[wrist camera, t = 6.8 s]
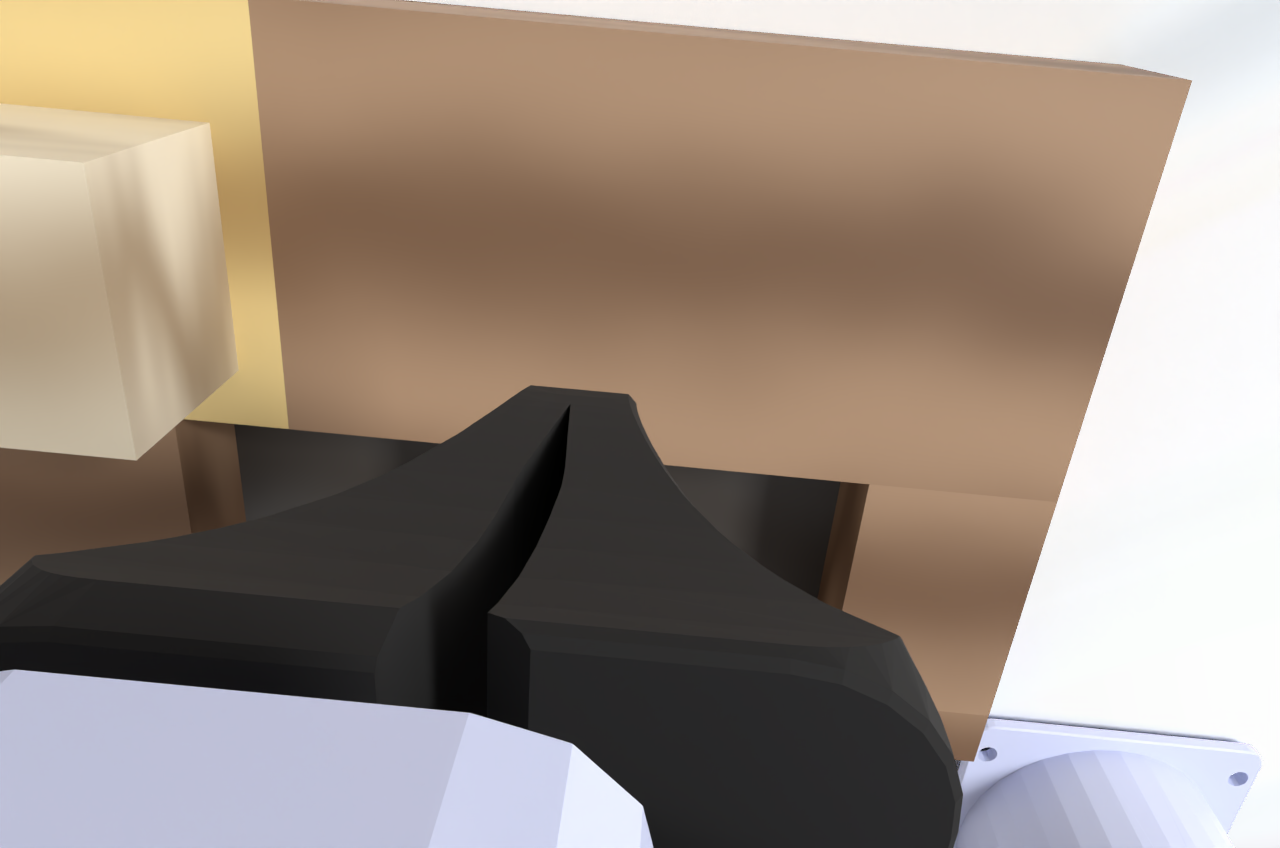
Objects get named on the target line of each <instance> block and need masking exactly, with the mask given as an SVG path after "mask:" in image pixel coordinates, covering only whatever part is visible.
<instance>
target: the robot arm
mask: <svg viewBox="0 0 1280 848" xmlns="http://www.w3.org/2000/svg"><path fill="white" fill-rule="evenodd" d="M988 747H990V749H988V750H986V751H980V750H982V749H983V748H988ZM1262 763H1263V760H1262V757H1261V756H1260V754H1259V753H1258V751H1257V750H1256V749H1255V748H1254V747H1253V746H1252V745H1250V744H1246V743H1238V742H1228V741H1218V740H1207V739H1197V738H1187V737H1177V736H1166V735H1156V734H1146V733H1136V732H1126V731H1115V730H1105V729H1095V728H1085V727H1074V726H1064V725H1054V724H1044V723H1034V722H1023V721H1013V720H1003V719H987V722H986V725H985V729H984V732H983V735H982V738H981V741H980V744H979V747H978V750H977V754H976V757H975V760H974V762H972V761H961V763H960V766H959V769H958V771H957V767H956V763H955V759H954V755H953V752H952V748H951V745H950V742H949V739H948V736H947V733H946V731H945V728H944V725H943V722H942V720H941V717H940V715H939V712H938V710H937V708H936V706H935V704H934V702H933V700H932V698H931V696H930V693H929V691H928V689H927V687H926V685H925V683H924V681H923V679H922V677H921V675H920V673H919V671H918V669H917V668H916V666H915V664H914V662H913V660H912V658H911V656H910V654H909V652H908V650H907V648H906V646H905V644H904V642H903V640H902V639H901V637H900V636H899V635H897V634H894V633H892V632H890V631H888V630H885V629H883V628H881V627H878V626H876V625H874V624H871V623H869V622H867V621H865V620H862V619H860V618H858V617H855V616H853V615H851V614H848V613H846V612H844V611H842V610H839V609H837V608H835V607H832V606H830V605H828V604H826V603H824V602H822V601H820V600H818V599H817V598H815V597H813V596H811V595H810V594H808V593H806V592H804V591H803V590H801V589H799V588H797V587H796V586H794V585H792V584H790V583H789V582H787V581H785V580H783V579H782V578H780V577H779V576H777V575H776V574H774V573H773V572H771V571H770V570H768V569H767V568H765V567H763V566H762V565H761V564H759V563H758V562H757V561H755V560H754V559H753V558H751V557H750V556H749V555H747V554H746V553H745V552H743V551H742V550H741V549H740V548H738V547H737V546H736V545H734V544H733V543H732V542H731V541H729V540H728V539H727V538H726V537H725V536H724V535H722V534H721V533H720V532H719V531H718V530H717V529H716V528H715V527H714V526H713V525H712V524H711V523H710V522H709V521H708V520H707V519H706V518H705V517H704V516H703V515H702V514H701V513H700V512H699V511H698V510H697V509H696V508H695V507H694V506H693V504H692V503H691V502H690V501H689V500H688V498H687V497H686V496H685V494H684V493H683V492H682V490H681V489H680V488H679V486H678V485H677V484H676V482H675V481H674V479H673V478H672V476H671V475H670V473H669V472H668V471H667V469H666V467H665V466H664V464H663V462H662V461H661V459H660V457H659V456H658V454H657V452H656V451H655V449H654V447H653V445H652V444H651V442H650V440H649V438H648V436H647V434H646V431H645V429H644V427H643V425H642V422H641V420H640V417H639V414H638V411H637V403H636V402H635V401H634V400H633V399H632V397H631V396H630V395H629V394H623V393H612V392H601V391H590V390H579V389H568V388H557V387H546V386H534V385H530V386H528V387H526V388H525V389H523V390H522V391H520V392H519V393H517V394H516V395H514V396H513V397H511V398H510V399H508V400H507V401H506V402H504V403H503V404H501V405H500V406H499V407H497V408H496V409H494V410H493V411H491V412H490V413H488V414H487V415H485V416H484V417H482V418H481V419H479V420H478V421H476V422H475V423H473V424H472V425H470V426H469V427H467V428H466V429H464V430H463V431H461V432H460V433H458V434H457V435H455V436H453V437H451V438H450V439H448V440H446V441H444V442H443V443H441V444H439V445H437V446H436V447H434V448H432V449H430V450H429V451H427V452H425V453H423V454H422V455H420V456H418V457H416V458H415V459H413V460H411V461H409V462H408V463H406V464H404V465H402V466H400V467H398V468H396V469H394V470H391V471H389V472H387V473H385V474H383V475H381V476H379V477H376V478H374V479H372V480H369V481H367V482H364V483H362V484H360V485H357V486H355V487H353V488H350V489H348V490H345V491H343V492H340V493H337V494H335V495H332V496H329V497H326V498H323V499H320V500H316V501H313V502H310V503H307V504H304V505H301V506H298V507H294V508H291V509H288V510H285V511H282V512H279V513H275V514H272V515H269V516H266V517H262V518H258V519H255V520H251V521H246V522H242V523H238V524H234V525H230V526H226V527H222V528H217V529H212V530H207V531H202V532H197V533H192V534H187V535H182V536H178V537H172V538H166V539H160V540H154V541H149V542H141V543H133V544H126V545H118V546H110V547H102V548H95V549H87V550H79V551H71V552H64V553H54V554H43V555H35V556H33V557H32V558H31V559H30V560H29V561H28V562H27V563H25V564H24V565H23V566H22V567H21V568H20V569H19V570H17V571H16V572H15V573H14V574H13V575H12V576H11V577H9V578H8V579H7V580H6V581H5V582H4V583H3V584H2V585H0V848H1235V846H1234V845H1233V843H1232V841H1231V840H1230V838H1229V837H1228V835H1227V834H1228V832H1229V830H1230V828H1231V826H1232V824H1233V822H1234V820H1235V818H1236V816H1237V814H1238V812H1239V810H1240V808H1241V806H1242V804H1243V802H1244V800H1245V799H1246V797H1247V795H1248V793H1249V791H1250V789H1251V787H1252V785H1253V783H1254V781H1255V779H1256V777H1257V775H1258V773H1259V771H1260V769H1261V767H1262ZM1236 772H1237V773H1236ZM1234 773H1235V774H1234ZM1232 774H1233V775H1232Z"/></svg>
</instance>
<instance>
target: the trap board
mask: <svg viewBox="0 0 1280 848" xmlns="http://www.w3.org/2000/svg"><path fill="white" fill-rule="evenodd" d="M1191 82H1192V80H1187V79H1183V78H1178V77H1174V76H1169V75H1165V74H1160V73H1156V72H1151V71H1147V70H1142V69H1138V68H1134V67H1129V66H1125V65H1119V64H1108V63H1097V62H1085V61H1074V60H1063V59H1052V58H1041V57H1030V56H1018V55H1007V54H996V53H985V52H974V51H963V50H951V49H940V48H929V47H918V46H907V45H896V44H884V43H873V42H862V41H851V40H840V39H829V38H818V37H806V36H795V35H784V34H773V33H762V32H751V31H739V30H728V29H717V28H706V27H695V26H684V25H672V24H661V23H650V22H639V21H628V20H617V19H605V18H594V17H583V16H572V15H561V14H550V13H539V12H527V11H516V10H505V9H494V8H483V7H472V6H460V5H449V4H438V3H427V2H416V1H405V0H0V103H1V104H12V105H23V106H34V107H45V108H56V109H66V110H77V111H88V112H99V113H110V114H121V115H132V116H143V117H154V118H165V119H175V120H186V121H197V122H208V123H210V130H211V139H212V147H213V156H214V164H215V173H216V181H217V190H218V198H219V207H220V215H221V224H222V232H223V241H224V250H225V258H226V267H227V275H228V284H229V292H230V301H231V309H232V318H233V326H234V335H235V343H236V352H237V360H238V369H239V371H237V372H236V373H235V374H234V375H233V376H232V377H231V378H230V379H228V380H227V381H226V382H225V383H224V384H223V385H222V386H220V387H219V388H218V389H217V390H216V391H215V392H214V393H213V394H211V395H210V396H209V397H208V398H207V399H206V400H205V401H203V402H202V403H201V404H200V405H199V406H198V407H197V408H196V409H194V410H193V411H192V412H191V413H190V414H189V415H188V416H186V417H185V418H184V419H183V420H182V421H181V422H180V423H178V424H177V425H176V426H175V427H174V428H173V429H172V430H171V431H169V432H168V433H167V434H166V435H165V436H164V437H163V438H161V439H160V440H159V441H158V442H157V443H156V444H155V445H154V446H152V447H151V448H150V449H149V450H148V451H147V452H146V453H144V454H143V455H142V456H141V457H140V458H139V459H138V460H137V461H136V460H125V459H115V458H105V457H94V456H84V455H73V454H63V453H53V452H42V451H32V450H21V449H11V448H1V447H0V585H2V584H3V583H4V582H5V581H6V580H7V579H8V578H9V577H11V576H12V575H13V574H14V573H15V572H16V571H17V570H19V569H20V568H21V567H22V566H23V565H24V564H25V563H27V562H28V561H29V560H30V559H31V558H32V557H33V556H35V555H43V554H54V553H64V552H71V551H79V550H87V549H95V548H102V547H110V546H118V545H126V544H133V543H141V542H149V541H154V540H160V539H166V538H172V537H178V536H182V535H187V534H192V533H197V532H202V531H207V530H212V529H217V528H222V527H226V526H230V525H234V524H238V523H242V522H246V521H251V520H255V519H258V518H262V517H266V516H269V515H272V514H275V513H279V512H282V511H285V510H288V509H291V508H294V507H298V506H301V505H304V504H307V503H310V502H313V501H316V500H320V499H323V498H326V497H329V496H332V495H335V494H337V493H340V492H343V491H345V490H348V489H350V488H353V487H355V486H357V485H360V484H362V483H364V482H367V481H369V480H372V479H374V478H376V477H379V476H381V475H383V474H385V473H387V472H389V471H391V470H394V469H396V468H398V467H400V466H402V465H404V464H406V463H408V462H409V461H411V460H413V459H415V458H416V457H418V456H420V455H422V454H423V453H425V452H427V451H429V450H430V449H432V448H434V447H436V446H437V445H439V444H441V443H443V442H444V441H446V440H448V439H450V438H451V437H453V436H455V435H457V434H458V433H460V432H461V431H463V430H464V429H466V428H467V427H469V426H470V425H472V424H473V423H475V422H476V421H478V420H479V419H481V418H482V417H484V416H485V415H487V414H488V413H490V412H491V411H493V410H494V409H496V408H497V407H499V406H500V405H501V404H503V403H504V402H506V401H507V400H508V399H510V398H511V397H513V396H514V395H516V394H517V393H519V392H520V391H522V390H523V389H525V388H526V387H528V386H530V385H534V386H546V387H557V388H568V389H579V390H590V391H601V392H612V393H623V394H629V395H630V396H631V397H632V399H633V400H634V401H635V402H636V403H637V411H638V414H639V417H640V420H641V422H642V425H643V427H644V429H645V431H646V434H647V436H648V438H649V440H650V442H651V444H652V445H653V447H654V449H655V451H656V452H657V454H658V456H659V457H660V459H661V461H662V462H663V464H664V466H665V467H666V469H667V471H668V472H669V473H670V475H671V476H672V478H673V479H674V481H675V482H676V484H677V485H678V486H679V488H680V489H681V490H682V492H683V493H684V494H685V496H686V497H687V498H688V500H689V501H690V502H691V503H692V504H693V506H694V507H695V508H696V509H697V510H698V511H699V512H700V513H701V514H702V515H703V516H704V517H705V518H706V519H707V520H708V521H709V522H710V523H711V524H712V525H713V526H714V527H715V528H716V529H717V530H718V531H719V532H720V533H721V534H722V535H724V536H725V537H726V538H727V539H728V540H729V541H731V542H732V543H733V544H734V545H736V546H737V547H738V548H740V549H741V550H742V551H743V552H745V553H746V554H747V555H749V556H750V557H751V558H753V559H754V560H755V561H757V562H758V563H759V564H761V565H762V566H763V567H765V568H767V569H768V570H770V571H771V572H773V573H774V574H776V575H777V576H779V577H780V578H782V579H783V580H785V581H787V582H789V583H790V584H792V585H794V586H796V587H797V588H799V589H801V590H803V591H804V592H806V593H808V594H810V595H811V596H813V597H815V598H817V599H818V600H820V601H822V602H824V603H826V604H828V605H830V606H832V607H835V608H837V609H839V610H842V611H844V612H846V613H848V614H851V615H853V616H855V617H858V618H860V619H862V620H865V621H867V622H869V623H871V624H874V625H876V626H878V627H881V628H883V629H885V630H888V631H890V632H892V633H894V634H897V635H899V636H900V637H901V639H902V640H903V642H904V644H905V646H906V648H907V650H908V652H909V654H910V656H911V658H912V660H913V662H914V664H915V666H916V668H917V669H918V671H919V673H920V675H921V677H922V679H923V681H924V683H925V685H926V687H927V689H928V691H929V693H930V696H931V698H932V700H933V702H934V704H935V706H936V708H937V710H938V712H939V715H940V717H941V720H942V722H943V725H944V728H945V731H946V733H947V736H948V739H949V742H950V745H951V748H952V752H953V755H954V759H955V760H961V761H972V762H974V760H975V757H976V754H977V750H978V747H979V744H980V741H981V738H982V735H983V732H984V729H985V725H986V722H987V719H988V716H989V713H990V710H991V707H992V704H993V700H994V697H995V694H996V691H997V688H998V685H999V682H1000V679H1001V675H1002V672H1003V669H1004V666H1005V663H1006V660H1007V657H1008V654H1009V650H1010V647H1011V644H1012V641H1013V638H1014V635H1015V632H1016V629H1017V626H1018V622H1019V619H1020V616H1021V613H1022V610H1023V607H1024V604H1025V601H1026V597H1027V594H1028V591H1029V588H1030V585H1031V582H1032V579H1033V576H1034V572H1035V569H1036V566H1037V563H1038V560H1039V557H1040V554H1041V551H1042V547H1043V544H1044V541H1045V538H1046V535H1047V532H1048V529H1049V526H1050V522H1051V519H1052V516H1053V513H1054V510H1055V507H1056V504H1057V501H1058V497H1059V494H1060V491H1061V488H1062V485H1063V482H1064V479H1065V476H1066V472H1067V469H1068V466H1069V463H1070V460H1071V457H1072V454H1073V451H1074V448H1075V444H1076V441H1077V438H1078V435H1079V432H1080V429H1081V426H1082V423H1083V419H1084V416H1085V413H1086V410H1087V407H1088V404H1089V401H1090V398H1091V394H1092V391H1093V388H1094V385H1095V382H1096V379H1097V376H1098V373H1099V369H1100V366H1101V363H1102V360H1103V357H1104V354H1105V351H1106V348H1107V344H1108V341H1109V338H1110V335H1111V332H1112V329H1113V326H1114V323H1115V319H1116V316H1117V313H1118V310H1119V307H1120V304H1121V301H1122V298H1123V294H1124V291H1125V288H1126V285H1127V282H1128V279H1129V276H1130V273H1131V269H1132V266H1133V263H1134V260H1135V257H1136V254H1137V251H1138V248H1139V245H1140V241H1141V238H1142V235H1143V232H1144V229H1145V226H1146V223H1147V220H1148V216H1149V213H1150V210H1151V207H1152V204H1153V201H1154V198H1155V195H1156V191H1157V188H1158V185H1159V182H1160V179H1161V176H1162V173H1163V170H1164V166H1165V163H1166V160H1167V157H1168V154H1169V151H1170V148H1171V145H1172V141H1173V138H1174V135H1175V132H1176V129H1177V126H1178V123H1179V120H1180V116H1181V113H1182V110H1183V107H1184V104H1185V101H1186V98H1187V95H1188V91H1189V88H1190V85H1191Z"/></svg>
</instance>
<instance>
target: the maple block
mask: <svg viewBox="0 0 1280 848" xmlns="http://www.w3.org/2000/svg"><path fill="white" fill-rule="evenodd" d="M237 371H239V369H238V360H237V352H236V343H235V335H234V326H233V318H232V309H231V301H230V292H229V284H228V275H227V267H226V258H225V250H224V241H223V232H222V224H221V215H220V207H219V198H218V190H217V181H216V173H215V164H214V156H213V147H212V139H211V130H210V123H208V122H197V121H186V120H175V119H165V118H154V117H143V116H132V115H121V114H110V113H99V112H88V111H77V110H66V109H56V108H45V107H34V106H23V105H12V104H1V103H0V447H1V448H11V449H21V450H32V451H42V452H53V453H63V454H73V455H84V456H94V457H105V458H115V459H125V460H136V461H137V460H138V459H139V458H140V457H141V456H142V455H143V454H144V453H146V452H147V451H148V450H149V449H150V448H151V447H152V446H154V445H155V444H156V443H157V442H158V441H159V440H160V439H161V438H163V437H164V436H165V435H166V434H167V433H168V432H169V431H171V430H172V429H173V428H174V427H175V426H176V425H177V424H178V423H180V422H181V421H182V420H183V419H184V418H185V417H186V416H188V415H189V414H190V413H191V412H192V411H193V410H194V409H196V408H197V407H198V406H199V405H200V404H201V403H202V402H203V401H205V400H206V399H207V398H208V397H209V396H210V395H211V394H213V393H214V392H215V391H216V390H217V389H218V388H219V387H220V386H222V385H223V384H224V383H225V382H226V381H227V380H228V379H230V378H231V377H232V376H233V375H234V374H235V373H236V372H237Z"/></svg>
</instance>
